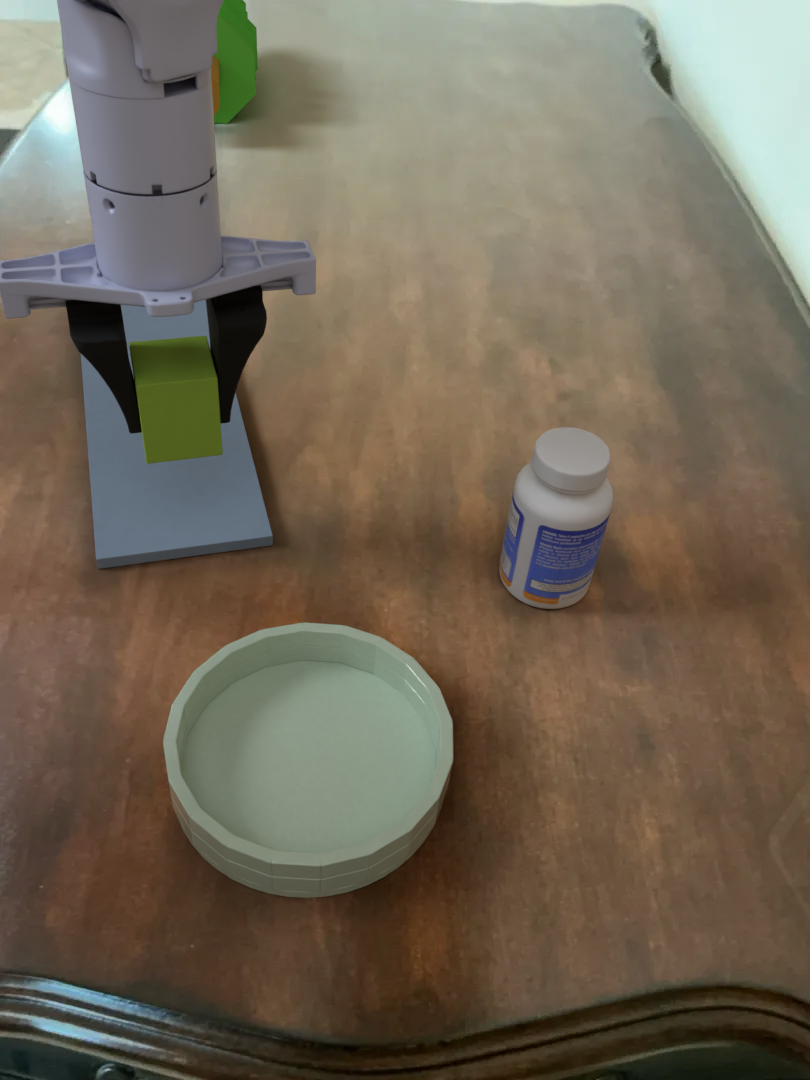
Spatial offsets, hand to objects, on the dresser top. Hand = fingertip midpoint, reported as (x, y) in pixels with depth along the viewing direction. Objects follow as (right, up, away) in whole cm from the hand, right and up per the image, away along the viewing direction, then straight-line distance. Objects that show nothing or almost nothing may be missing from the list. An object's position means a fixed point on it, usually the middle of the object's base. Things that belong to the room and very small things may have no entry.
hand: (177, 417), depth 52 cm
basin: (+8, -18, -5) cm, 20 cm away
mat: (-5, +5, +16) cm, 18 cm away
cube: (0, -1, +1) cm, 1 cm away
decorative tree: (-9, +43, +56) cm, 71 cm away
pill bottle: (+20, -9, +5) cm, 23 cm away
